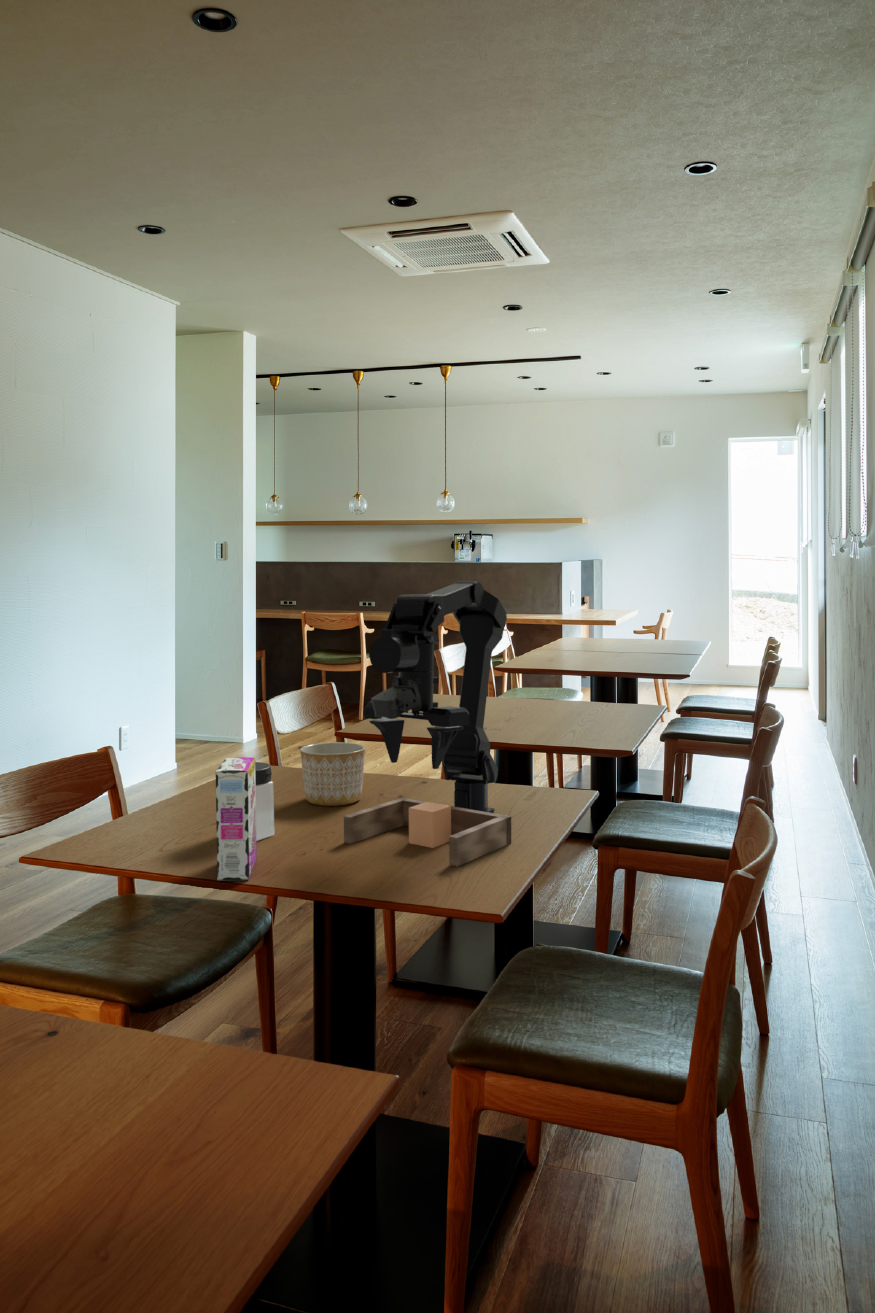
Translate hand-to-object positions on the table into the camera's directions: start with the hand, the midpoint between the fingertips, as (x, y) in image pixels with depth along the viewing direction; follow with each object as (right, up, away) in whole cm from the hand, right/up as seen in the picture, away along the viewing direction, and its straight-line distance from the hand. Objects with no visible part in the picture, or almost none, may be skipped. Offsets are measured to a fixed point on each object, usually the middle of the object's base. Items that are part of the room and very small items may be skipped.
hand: (414, 765), depth 159 cm
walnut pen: (+2, -13, 0) cm, 13 cm away
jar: (-29, -13, +6) cm, 32 cm away
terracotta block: (+3, -13, +1) cm, 13 cm away
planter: (-17, -11, +31) cm, 37 cm away
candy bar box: (-26, -15, -13) cm, 33 cm away
